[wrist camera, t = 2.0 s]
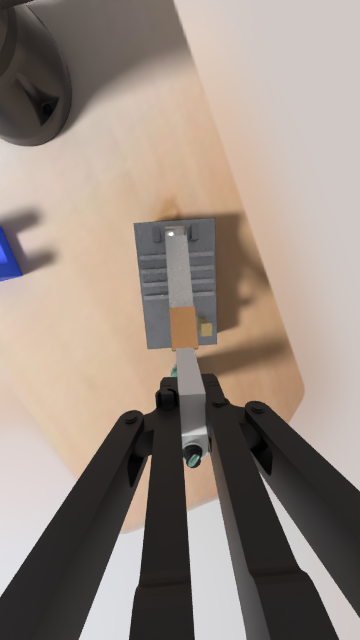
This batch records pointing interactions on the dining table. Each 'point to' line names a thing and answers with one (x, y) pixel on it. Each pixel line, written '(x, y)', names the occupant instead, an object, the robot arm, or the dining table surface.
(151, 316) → the finned block
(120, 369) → the dining table surface
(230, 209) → the dining table surface
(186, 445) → the spray can
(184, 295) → the bar
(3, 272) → the bracket
